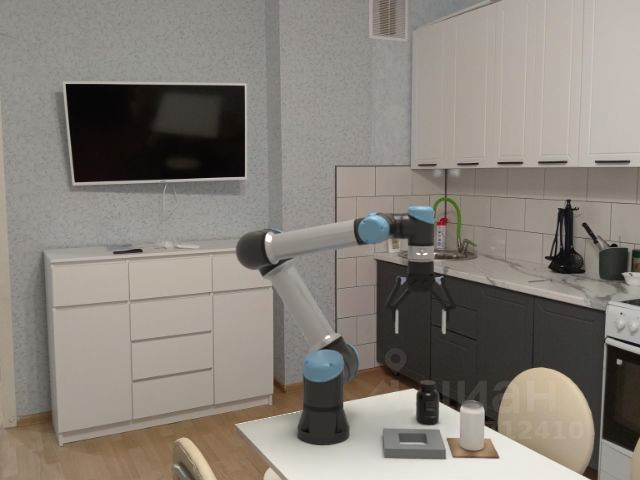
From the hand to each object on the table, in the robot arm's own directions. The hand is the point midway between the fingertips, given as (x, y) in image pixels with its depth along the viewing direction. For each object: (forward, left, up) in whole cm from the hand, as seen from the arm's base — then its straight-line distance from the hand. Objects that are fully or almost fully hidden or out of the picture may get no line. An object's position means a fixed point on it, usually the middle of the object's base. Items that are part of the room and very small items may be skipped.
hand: (420, 332), depth 189 cm
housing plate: (-3, -14, -29) cm, 32 cm away
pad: (+13, -14, -29) cm, 34 cm away
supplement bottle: (+3, +6, -29) cm, 30 cm away
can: (+13, -14, -28) cm, 34 cm away
